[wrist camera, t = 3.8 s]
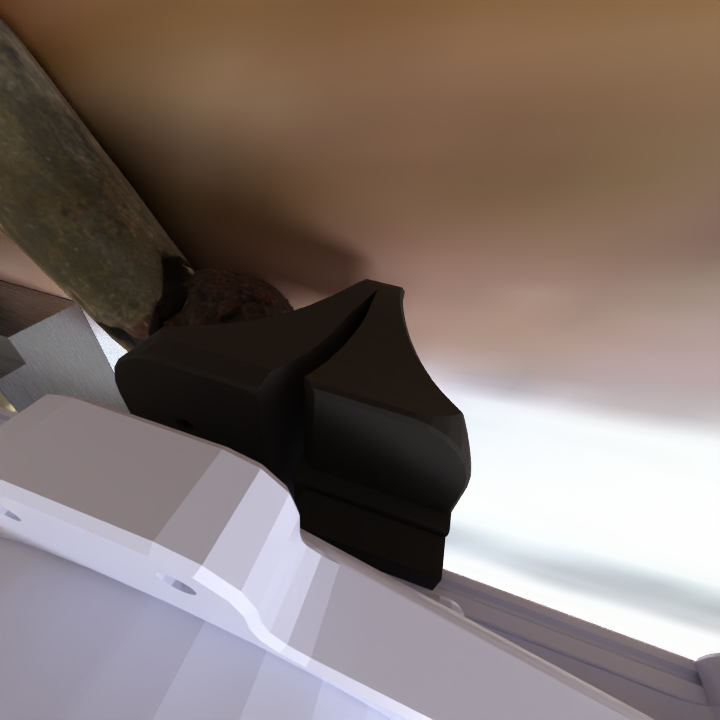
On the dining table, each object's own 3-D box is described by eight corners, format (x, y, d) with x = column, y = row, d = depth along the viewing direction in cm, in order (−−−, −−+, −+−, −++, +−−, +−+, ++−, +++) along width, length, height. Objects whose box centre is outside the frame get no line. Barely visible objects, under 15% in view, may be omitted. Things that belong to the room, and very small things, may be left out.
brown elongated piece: (6, 116, 13) (-236, 120, 8) (68, -43, 9) (-287, -170, 5) (283, 426, 20) (229, 514, 15) (377, 402, 16) (340, 507, 12)
